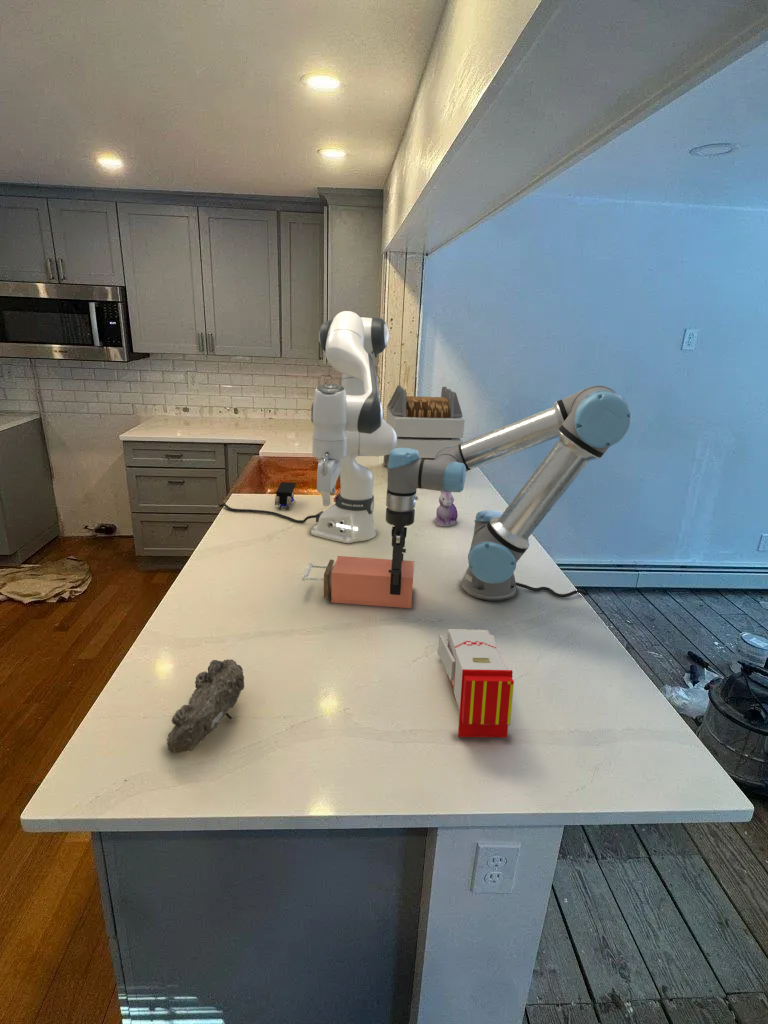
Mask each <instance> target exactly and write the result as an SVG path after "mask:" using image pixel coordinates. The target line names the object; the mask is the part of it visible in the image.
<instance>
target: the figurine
mask: <svg viewBox="0 0 768 1024" xmlns="http://www.w3.org/2000/svg"><path fill="white" fill-rule="evenodd" d="M454 502H455V498H454V495H453V493H452V492H445V491H440V494H439V497H438V503H439V506H438V507H437V508H436V513H435V515H436V517H435V521H434V522H435V523H436V524H437V526H440V527H450V526H454V525H455V524H457V520H458V517H459V516H458V514H459V513H458V510H457V507H456V505H455V504H454Z"/></svg>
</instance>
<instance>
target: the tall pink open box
mask: <svg viewBox="0 0 768 1024" xmlns="http://www.w3.org/2000/svg"><path fill="white" fill-rule="evenodd" d="M391 569H392V559H390V558H389V559H388V558H376V557H375V558H373V557H362V556H361V557H359V556H348V555H347V556H346V555H345V556H344V555H337V557H336V560H335V562H334V568H333V571H332V588H331V598H330V599H331V601H330V603H336V604H346V605H362V606H373V607H375V606H376V607H389V608H400V609H412V602H413V591H414V590H413V589H414V574H415V573H414V572H415V571H414V570H415V561H414V560H405V559H403V560H402V564H401V570H402V574H401V590H400V595H394V594H390V583H391V573H389V570H391Z"/></svg>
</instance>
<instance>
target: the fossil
mask: <svg viewBox="0 0 768 1024" xmlns="http://www.w3.org/2000/svg"><path fill="white" fill-rule="evenodd" d="M243 670H244V669H243V667H242V665H240V664H237V662H236V661H235V660H234V659H232V658H231V659H227V658H226V659H224V660H223V661H222V660H217V659H212V660H211V661H210V663H209V665H208V666H207V671H201V672H199V673H198V674H197V675H196V676H195V680H194V684H195V685H194V687H195V689H194V690H193V693H192V694H191V697H190V698H189V700H188V704H184V705H182V706H181V707H180V709H177V710H176V711H175V713H174V715H173V716H172V718H171V723H172V724H173V727H172V730H171V731H170V732H168V734H167V738H166V741H167V742H166V745H167V749H168V750H169V751H173V752H174V753H176V754H178V753H182V752H188V751H189V752H192V751H193V750H195V748H196V747H197V746H199V744H200V743H201V742H203V741H204V740H205V739H206V738H207V737H208V736H209V735H210V734H211V733H212V732H214V730H215V729H217V727H218V726H219V724H220V722H221V721H222V720H223V719H224V718H225V716H226V717H227V719H229V720H233V717H232V715H230V714H229V710H230V709H231V708H234V706H235V704H236V703H237V702H238V699H239V697H240V695H241V693H242V691H243V690H245V689H244V688H245V675H244V671H243Z"/></svg>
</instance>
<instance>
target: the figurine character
mask: <svg viewBox="0 0 768 1024" xmlns="http://www.w3.org/2000/svg"><path fill="white" fill-rule="evenodd" d="M296 485H297V483H296V482H286V481H285V482H284V481H280V483H279V486H278V487H277V490H276V491H275V497H274V498H275V499H274V506H278V509H279V510H282V507H285V508H286V510H288V509H289V507H290V506H292V503H294V502H295V499H294V497H295V493H294V490H295V487H296Z"/></svg>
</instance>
